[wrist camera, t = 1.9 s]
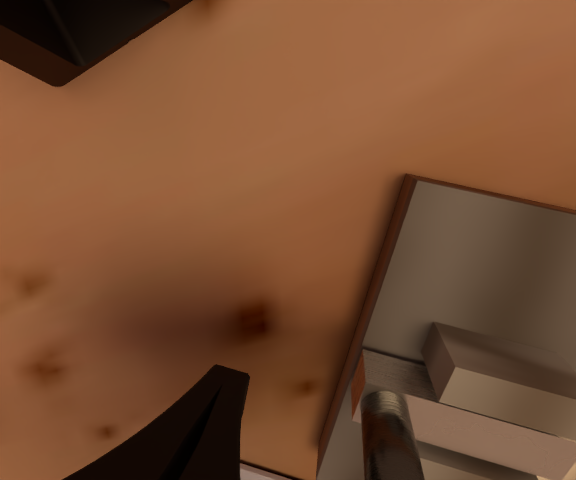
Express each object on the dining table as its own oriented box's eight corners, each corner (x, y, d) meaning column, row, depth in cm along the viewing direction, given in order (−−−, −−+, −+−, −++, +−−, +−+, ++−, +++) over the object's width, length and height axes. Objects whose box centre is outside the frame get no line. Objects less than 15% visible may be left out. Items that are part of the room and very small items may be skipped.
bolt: (351, 383, 15) (355, 532, 9) (362, 349, 14) (374, 487, 8) (531, 435, 14) (652, 631, 8) (553, 401, 13) (700, 590, 8)
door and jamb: (318, 443, 20) (310, 543, 15) (406, 173, 14) (439, 193, 9) (627, 538, 18) (730, 685, 13) (875, 275, 12) (1221, 366, 7)
